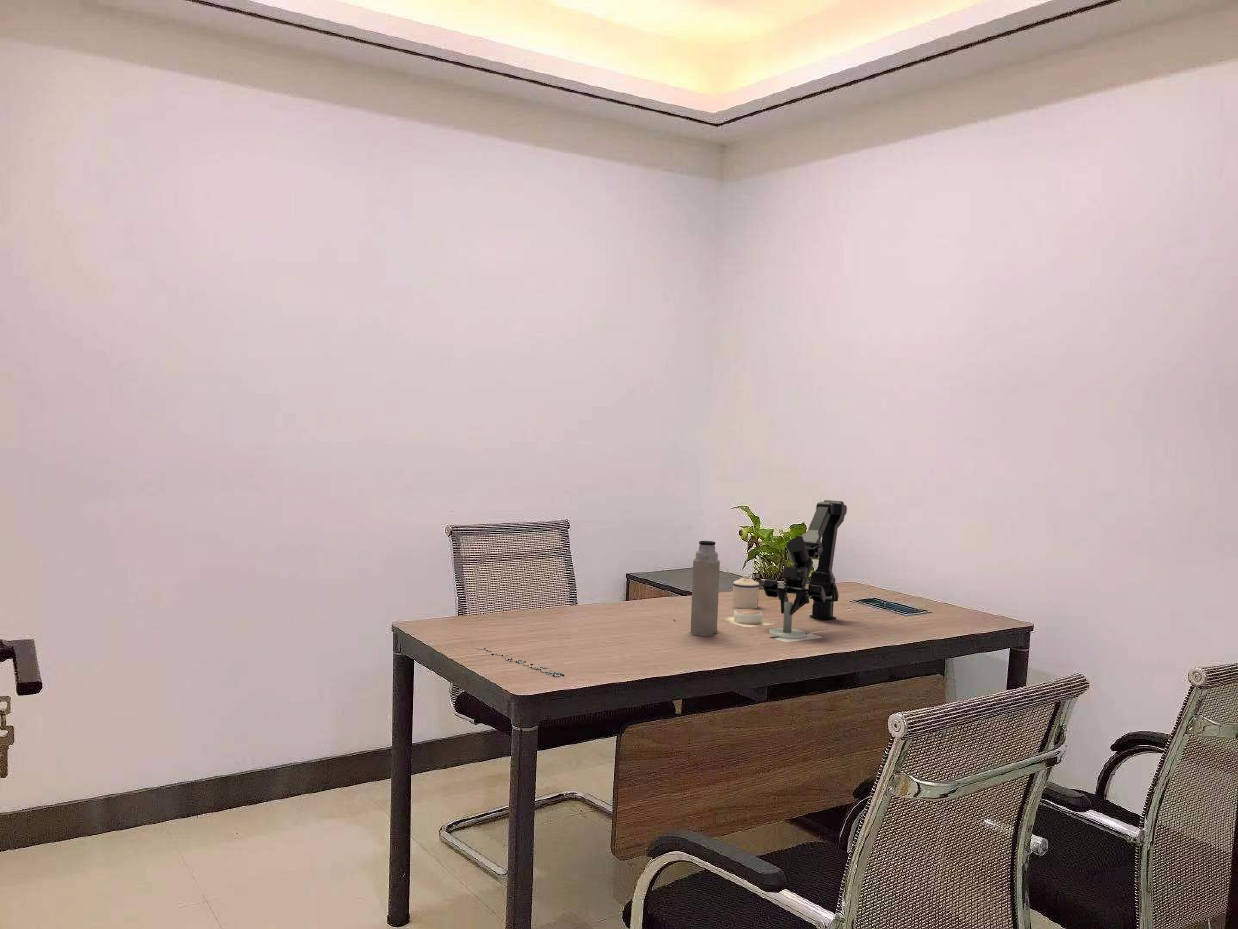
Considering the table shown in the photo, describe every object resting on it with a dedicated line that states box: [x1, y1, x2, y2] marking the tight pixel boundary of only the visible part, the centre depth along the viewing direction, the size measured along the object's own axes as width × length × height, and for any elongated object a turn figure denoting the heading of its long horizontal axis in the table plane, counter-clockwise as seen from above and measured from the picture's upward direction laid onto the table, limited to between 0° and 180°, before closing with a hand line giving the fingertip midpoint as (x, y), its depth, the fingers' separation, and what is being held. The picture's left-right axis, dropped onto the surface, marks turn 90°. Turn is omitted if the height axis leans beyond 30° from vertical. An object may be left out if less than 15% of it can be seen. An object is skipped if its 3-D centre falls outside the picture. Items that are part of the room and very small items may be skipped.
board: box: [717, 616, 780, 629], centre depth 325 cm, size 14×14×1 cm
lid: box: [768, 601, 807, 639], centre depth 309 cm, size 11×11×10 cm
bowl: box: [733, 608, 763, 624], centre depth 325 cm, size 9×9×3 cm
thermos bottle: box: [690, 540, 721, 637], centre depth 309 cm, size 8×8×28 cm
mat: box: [768, 631, 823, 643], centre depth 310 cm, size 15×15×1 cm
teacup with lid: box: [732, 574, 760, 610], centre depth 351 cm, size 12×9×12 cm
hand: (786, 613), depth 308 cm, fingers closed on lid, 2 cm apart
